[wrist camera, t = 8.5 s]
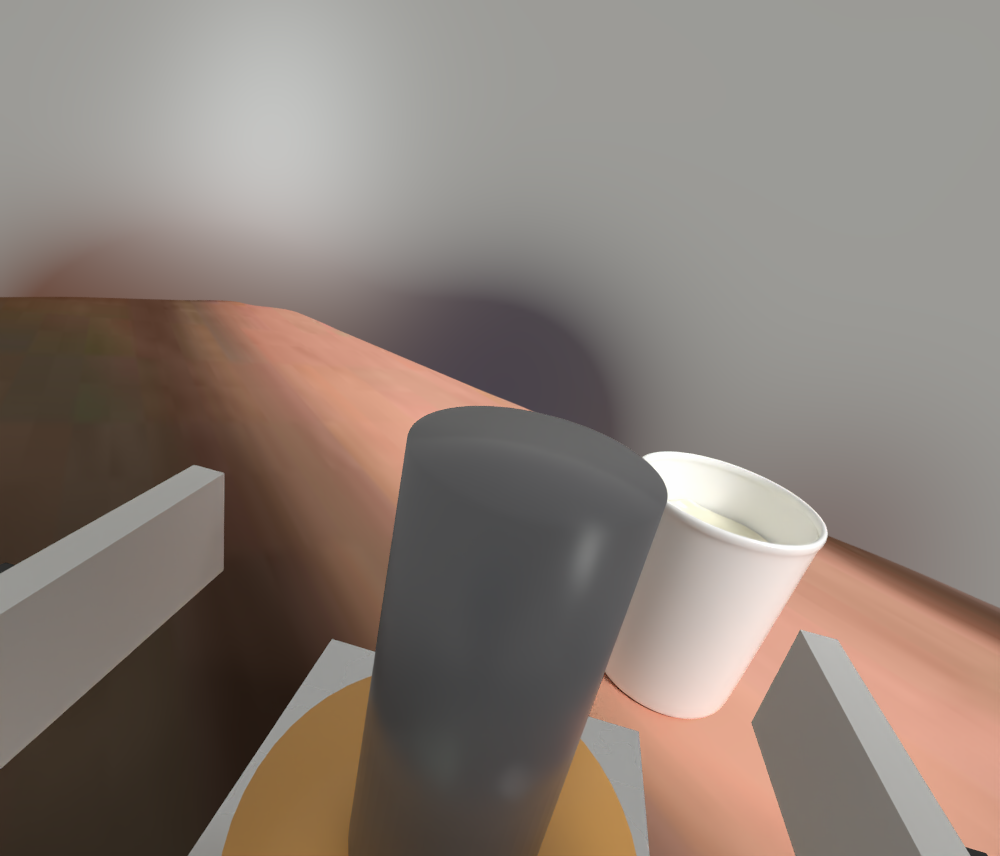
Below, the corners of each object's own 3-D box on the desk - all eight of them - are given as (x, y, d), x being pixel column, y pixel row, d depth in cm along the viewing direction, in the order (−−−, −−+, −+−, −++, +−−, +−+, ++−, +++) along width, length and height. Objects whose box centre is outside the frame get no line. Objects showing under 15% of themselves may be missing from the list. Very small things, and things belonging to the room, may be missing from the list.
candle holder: (756, 762, 27) (861, 573, 22) (571, 695, 28) (636, 506, 24) (725, 632, 36) (796, 480, 32) (586, 588, 37) (635, 436, 33)
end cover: (574, 852, 19) (747, 430, 13) (556, 1392, 10) (1087, 854, 4) (328, 771, 20) (379, 340, 14) (109, 1204, 11) (-22, 522, 5)
